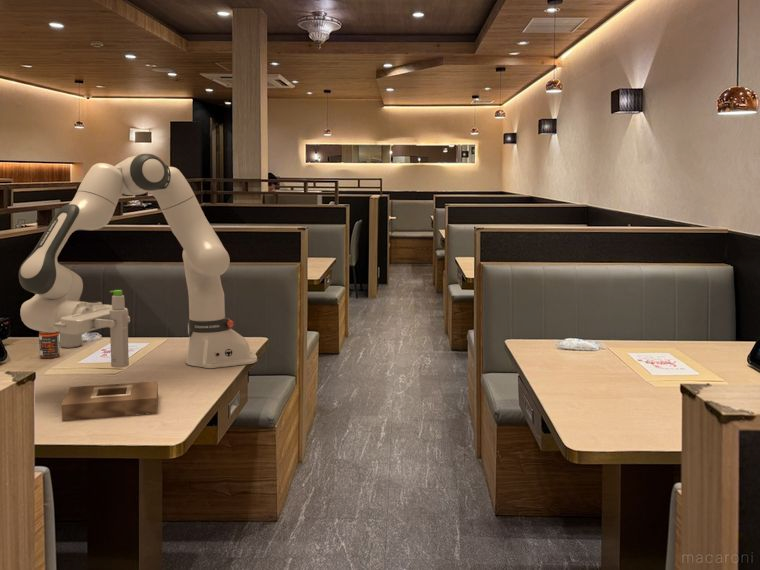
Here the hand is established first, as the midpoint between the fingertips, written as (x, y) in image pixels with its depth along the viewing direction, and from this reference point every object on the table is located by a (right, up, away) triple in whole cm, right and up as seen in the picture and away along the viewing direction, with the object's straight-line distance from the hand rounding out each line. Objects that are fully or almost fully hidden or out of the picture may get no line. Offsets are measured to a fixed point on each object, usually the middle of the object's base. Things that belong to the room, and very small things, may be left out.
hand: (121, 321), depth 192 cm
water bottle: (-41, -12, +68) cm, 80 cm away
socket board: (-1, -22, -3) cm, 22 cm away
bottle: (-1, -12, +2) cm, 12 cm away
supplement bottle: (-41, -14, +51) cm, 67 cm away
